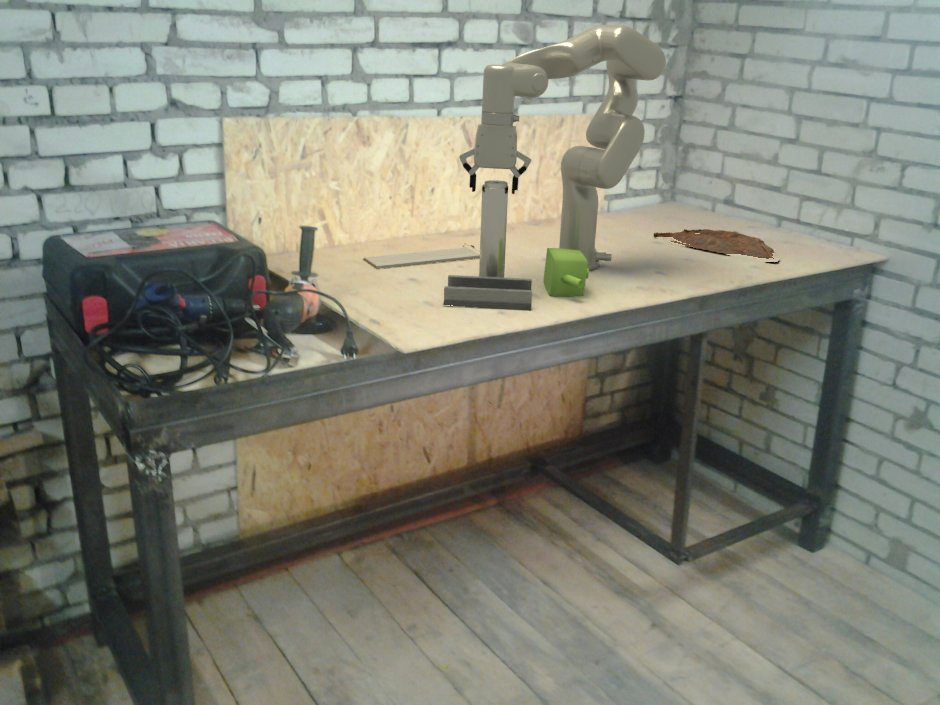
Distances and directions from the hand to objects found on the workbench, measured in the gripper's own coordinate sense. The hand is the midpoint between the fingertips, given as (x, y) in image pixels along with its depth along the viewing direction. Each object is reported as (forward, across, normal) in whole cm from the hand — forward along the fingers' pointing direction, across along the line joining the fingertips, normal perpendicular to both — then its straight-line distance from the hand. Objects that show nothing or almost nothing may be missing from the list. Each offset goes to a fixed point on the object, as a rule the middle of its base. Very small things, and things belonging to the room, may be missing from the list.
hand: (493, 192), depth 212 cm
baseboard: (+23, +19, -20) cm, 36 cm away
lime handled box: (+23, -20, +5) cm, 30 cm away
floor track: (+23, -1, +15) cm, 27 cm away
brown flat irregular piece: (+22, -71, -49) cm, 89 cm away
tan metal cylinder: (+23, -1, -1) cm, 23 cm away
